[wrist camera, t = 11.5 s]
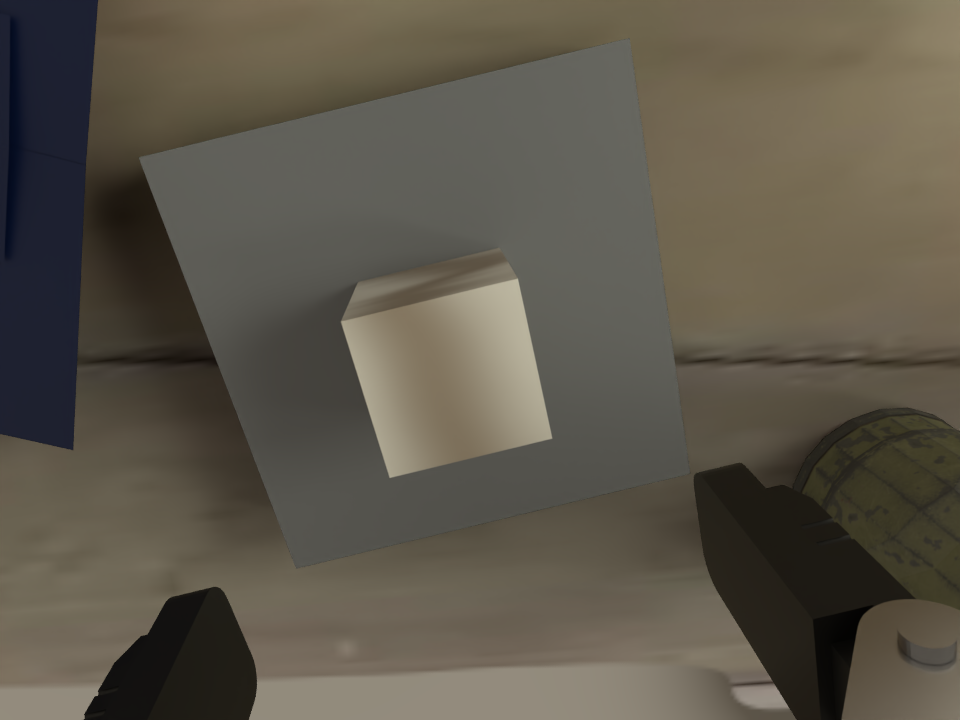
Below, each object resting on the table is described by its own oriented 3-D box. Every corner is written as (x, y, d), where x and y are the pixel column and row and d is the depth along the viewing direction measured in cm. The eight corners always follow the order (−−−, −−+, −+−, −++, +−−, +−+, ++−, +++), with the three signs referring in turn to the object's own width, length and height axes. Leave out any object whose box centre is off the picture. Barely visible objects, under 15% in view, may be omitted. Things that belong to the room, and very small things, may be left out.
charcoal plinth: (599, 50, 25) (629, 38, 22) (657, 431, 31) (690, 473, 27) (181, 152, 25) (138, 157, 22) (312, 514, 31) (295, 568, 27)
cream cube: (499, 247, 23) (517, 278, 19) (528, 379, 25) (552, 438, 20) (358, 282, 23) (340, 321, 19) (396, 411, 25) (389, 477, 20)
